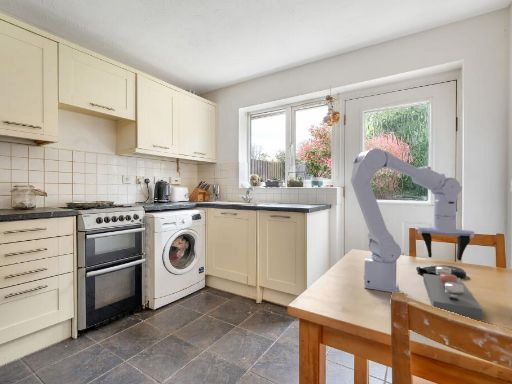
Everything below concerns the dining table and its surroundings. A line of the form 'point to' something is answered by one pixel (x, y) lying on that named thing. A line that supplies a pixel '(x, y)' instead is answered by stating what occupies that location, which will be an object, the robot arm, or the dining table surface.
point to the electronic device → (454, 271)
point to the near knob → (454, 289)
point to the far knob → (443, 270)
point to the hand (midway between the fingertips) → (444, 258)
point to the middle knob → (447, 278)
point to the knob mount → (442, 299)
